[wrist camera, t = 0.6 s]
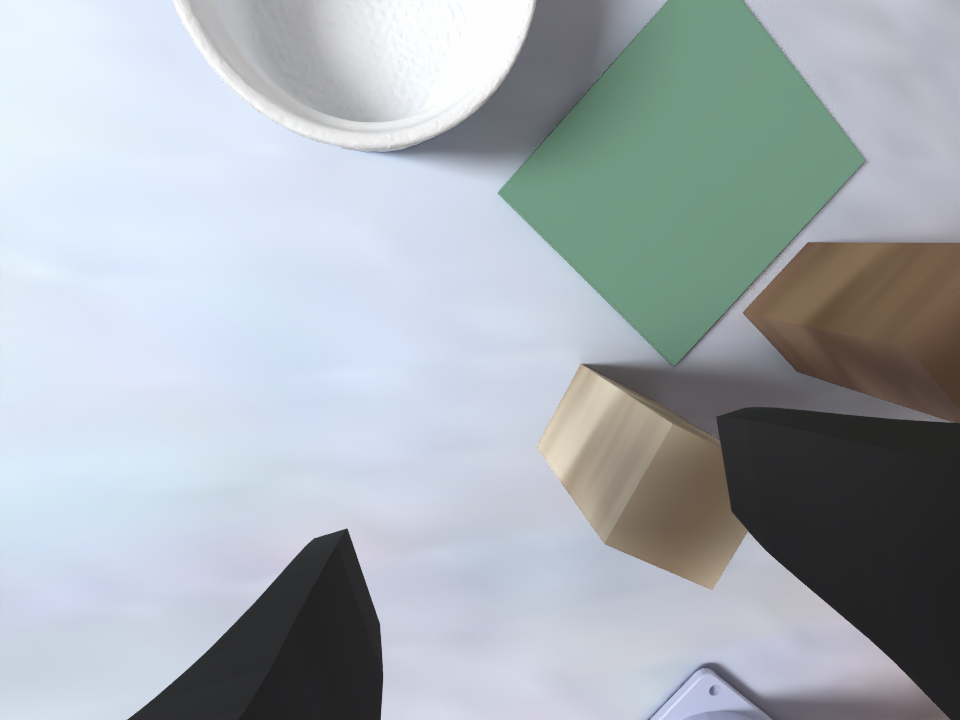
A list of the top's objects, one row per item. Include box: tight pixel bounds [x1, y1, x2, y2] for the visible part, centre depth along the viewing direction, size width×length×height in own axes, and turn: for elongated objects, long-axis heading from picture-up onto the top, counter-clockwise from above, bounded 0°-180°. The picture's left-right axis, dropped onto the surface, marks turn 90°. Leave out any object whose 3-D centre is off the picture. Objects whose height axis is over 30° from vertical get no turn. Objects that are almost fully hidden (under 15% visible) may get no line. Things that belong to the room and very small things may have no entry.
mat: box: [498, 0, 865, 366], centre depth 20 cm, size 9×10×1 cm
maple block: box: [536, 364, 748, 590], centre depth 18 cm, size 4×4×7 cm
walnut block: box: [743, 243, 960, 423], centre depth 18 cm, size 4×4×7 cm
